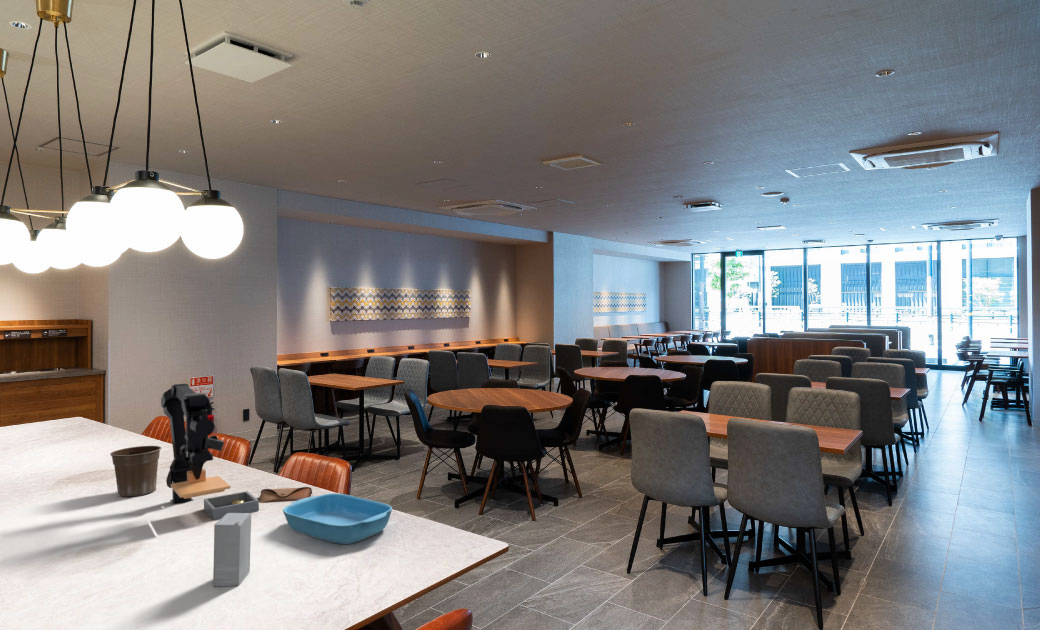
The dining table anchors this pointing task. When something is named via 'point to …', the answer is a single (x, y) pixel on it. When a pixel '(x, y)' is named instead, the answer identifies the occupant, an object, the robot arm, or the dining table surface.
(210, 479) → the lid
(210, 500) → the tub
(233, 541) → the skincare box
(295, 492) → the sunglasses case
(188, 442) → the robot arm
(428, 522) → the dining table surface
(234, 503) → the part
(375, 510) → the casserole dish
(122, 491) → the plant pot
